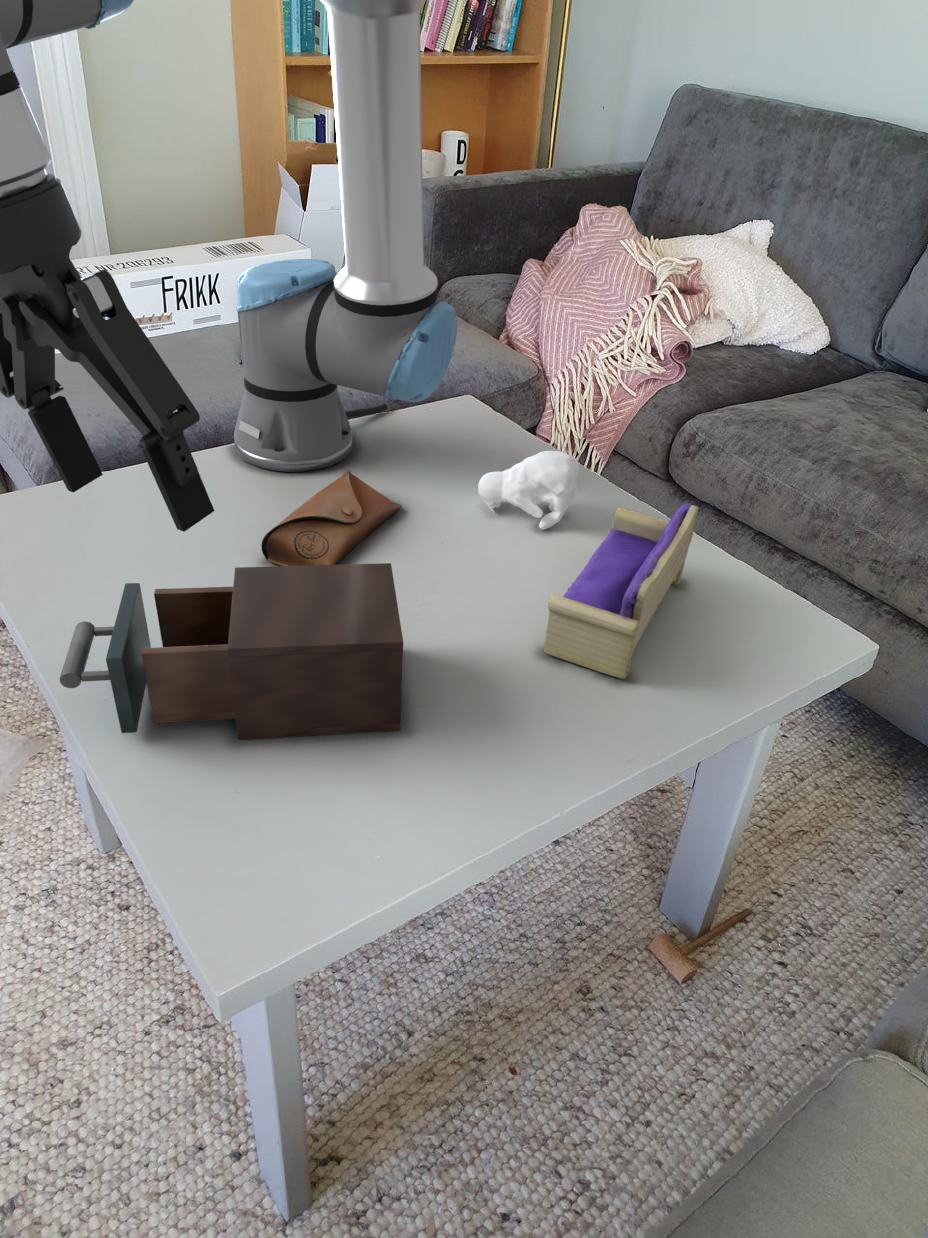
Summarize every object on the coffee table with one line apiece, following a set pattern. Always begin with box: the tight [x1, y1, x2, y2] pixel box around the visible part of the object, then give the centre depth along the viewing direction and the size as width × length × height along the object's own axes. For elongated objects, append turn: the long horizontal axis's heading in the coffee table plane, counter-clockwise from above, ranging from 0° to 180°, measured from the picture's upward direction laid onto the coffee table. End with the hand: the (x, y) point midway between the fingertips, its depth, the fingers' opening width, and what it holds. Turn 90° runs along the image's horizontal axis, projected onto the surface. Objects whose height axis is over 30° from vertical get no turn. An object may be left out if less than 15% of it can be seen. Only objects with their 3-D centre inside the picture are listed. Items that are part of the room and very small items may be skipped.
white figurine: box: [477, 450, 580, 531], centre depth 108 cm, size 6×8×12 cm
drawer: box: [58, 582, 236, 734], centre depth 77 cm, size 17×10×8 cm, turn 99°
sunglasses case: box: [260, 469, 403, 566], centre depth 103 cm, size 18×7×7 cm
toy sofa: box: [543, 503, 699, 680], centre depth 91 cm, size 21×9×10 cm, turn 154°
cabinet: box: [228, 562, 404, 740], centre depth 79 cm, size 14×12×10 cm
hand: (137, 500), depth 66 cm, fingers open, 13 cm apart
